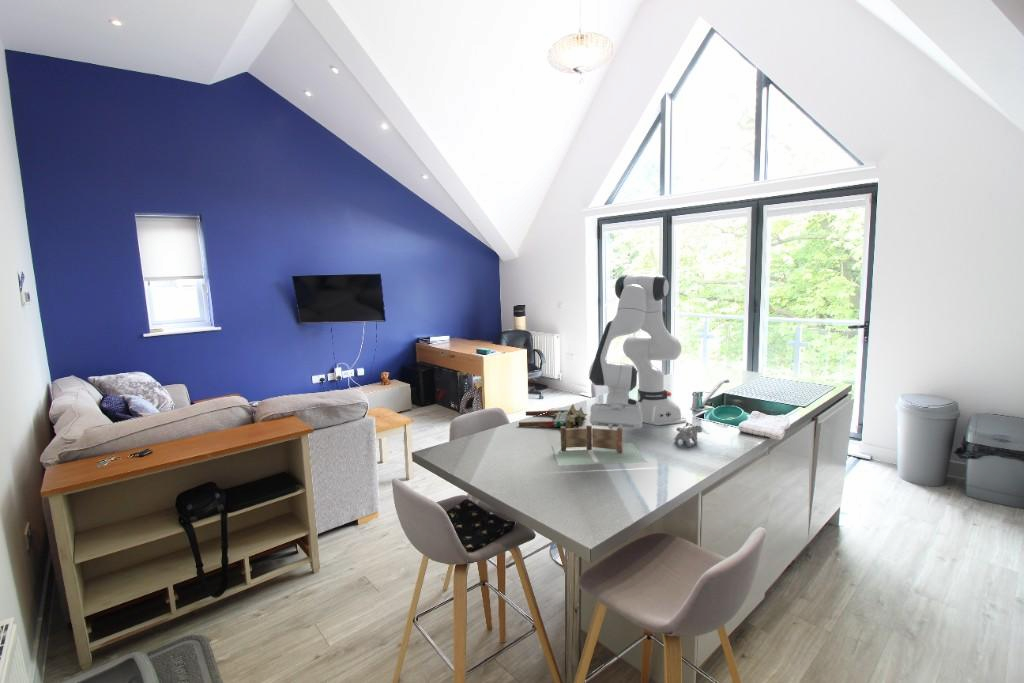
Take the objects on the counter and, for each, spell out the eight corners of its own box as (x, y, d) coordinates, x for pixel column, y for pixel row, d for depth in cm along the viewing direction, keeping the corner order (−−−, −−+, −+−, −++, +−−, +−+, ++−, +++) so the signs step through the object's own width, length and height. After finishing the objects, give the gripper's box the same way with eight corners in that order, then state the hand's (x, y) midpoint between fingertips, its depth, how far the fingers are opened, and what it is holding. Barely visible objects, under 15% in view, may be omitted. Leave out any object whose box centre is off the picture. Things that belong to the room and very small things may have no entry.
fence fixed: (591, 448, 189) (591, 425, 188) (592, 449, 187) (592, 426, 186) (560, 449, 188) (560, 426, 187) (561, 451, 186) (561, 428, 185)
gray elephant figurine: (671, 445, 192) (671, 426, 190) (683, 435, 201) (683, 417, 199) (695, 450, 186) (695, 431, 184) (706, 440, 195) (706, 421, 193)
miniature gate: (527, 406, 242) (587, 403, 235) (528, 416, 242) (588, 414, 236) (516, 422, 216) (584, 419, 209) (517, 433, 216) (585, 431, 210)
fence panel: (592, 449, 186) (592, 427, 185) (593, 447, 188) (593, 425, 187) (621, 452, 182) (621, 430, 181) (622, 450, 184) (622, 428, 183)
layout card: (631, 443, 193) (631, 442, 193) (647, 462, 174) (647, 461, 174) (551, 447, 192) (551, 445, 192) (558, 466, 172) (558, 465, 172)
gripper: (590, 399, 193) (586, 430, 186) (643, 401, 187) (641, 434, 179) (592, 406, 198) (588, 437, 190) (643, 409, 192) (642, 441, 184)
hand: (614, 436), depth 185 cm, fingers closed
